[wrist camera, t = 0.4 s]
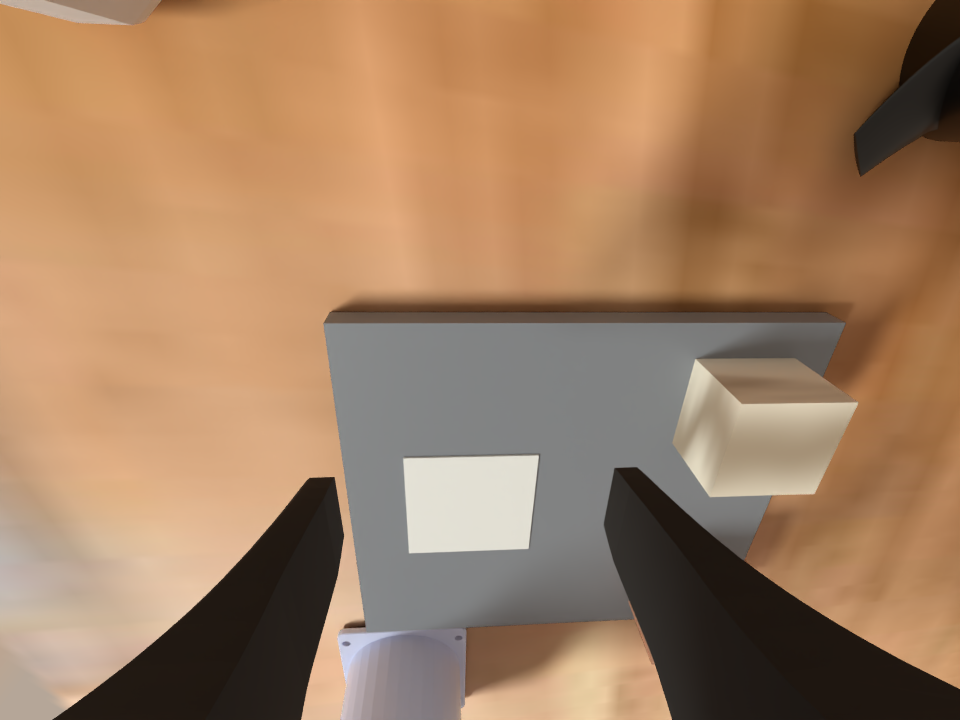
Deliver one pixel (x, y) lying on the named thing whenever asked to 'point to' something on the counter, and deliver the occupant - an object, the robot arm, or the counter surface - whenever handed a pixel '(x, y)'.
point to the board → (525, 450)
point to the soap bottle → (91, 10)
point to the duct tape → (919, 91)
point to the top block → (760, 426)
